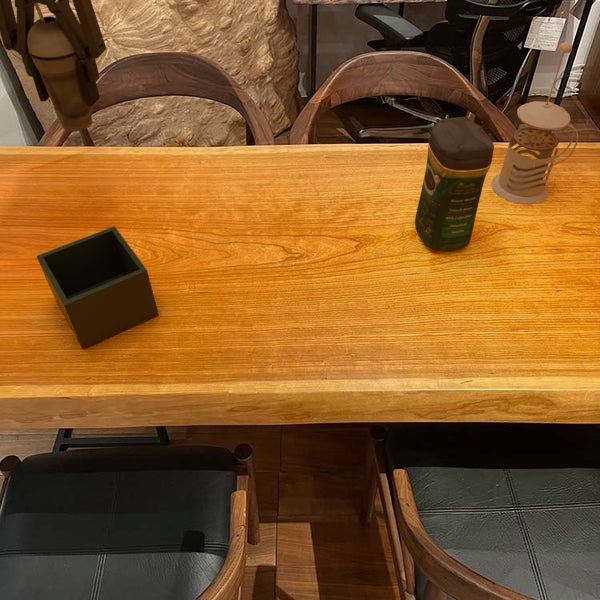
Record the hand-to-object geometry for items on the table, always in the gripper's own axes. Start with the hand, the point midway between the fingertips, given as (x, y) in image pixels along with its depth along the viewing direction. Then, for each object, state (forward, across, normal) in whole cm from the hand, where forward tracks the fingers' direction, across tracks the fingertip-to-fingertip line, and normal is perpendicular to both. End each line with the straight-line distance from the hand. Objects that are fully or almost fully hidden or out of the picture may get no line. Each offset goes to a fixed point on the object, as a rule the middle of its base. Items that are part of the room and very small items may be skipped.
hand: (70, 99), depth 87 cm
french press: (+18, -72, -16) cm, 76 cm away
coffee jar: (+18, -58, -1) cm, 60 cm away
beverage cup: (+4, 0, 0) cm, 4 cm away
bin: (+18, -12, +24) cm, 32 cm away
